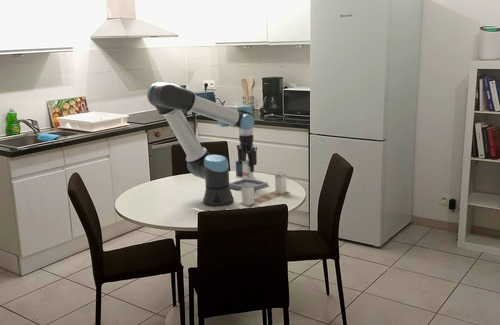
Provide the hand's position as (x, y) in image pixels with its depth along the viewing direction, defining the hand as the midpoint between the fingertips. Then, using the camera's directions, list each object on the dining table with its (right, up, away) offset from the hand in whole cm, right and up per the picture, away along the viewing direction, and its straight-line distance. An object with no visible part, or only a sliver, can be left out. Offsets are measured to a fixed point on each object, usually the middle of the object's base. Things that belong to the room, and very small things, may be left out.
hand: (248, 176), depth 275 cm
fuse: (0, -12, -29) cm, 32 cm away
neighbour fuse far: (+17, -8, -13) cm, 23 cm away
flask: (-3, 0, +26) cm, 26 cm away
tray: (0, -6, +1) cm, 6 cm away
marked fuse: (0, -1, 0) cm, 1 cm away
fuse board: (+9, -11, -21) cm, 25 cm away
